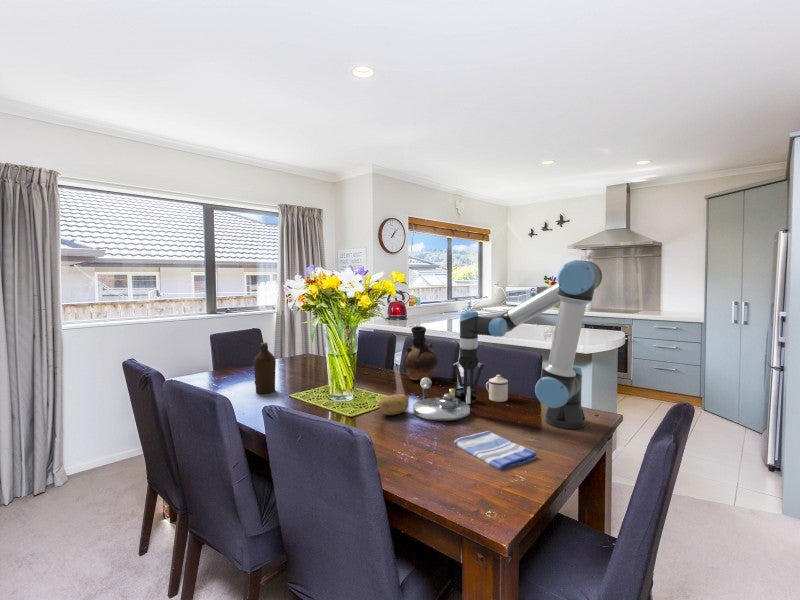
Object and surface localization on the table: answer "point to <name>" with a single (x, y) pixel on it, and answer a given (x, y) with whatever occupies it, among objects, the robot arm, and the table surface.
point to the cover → (448, 402)
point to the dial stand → (425, 386)
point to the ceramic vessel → (419, 356)
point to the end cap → (460, 395)
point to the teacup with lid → (498, 389)
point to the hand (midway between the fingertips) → (468, 402)
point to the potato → (393, 404)
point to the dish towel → (495, 450)
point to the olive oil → (264, 371)
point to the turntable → (440, 409)
